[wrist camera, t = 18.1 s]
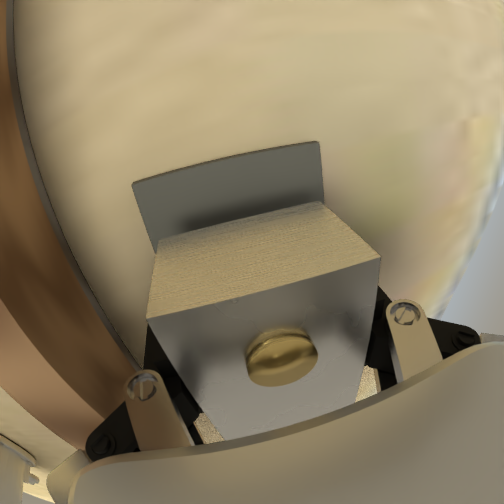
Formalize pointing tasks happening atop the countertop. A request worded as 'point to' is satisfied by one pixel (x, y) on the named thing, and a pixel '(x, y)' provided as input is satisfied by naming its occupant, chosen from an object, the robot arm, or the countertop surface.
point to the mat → (229, 189)
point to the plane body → (47, 291)
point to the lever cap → (266, 316)
